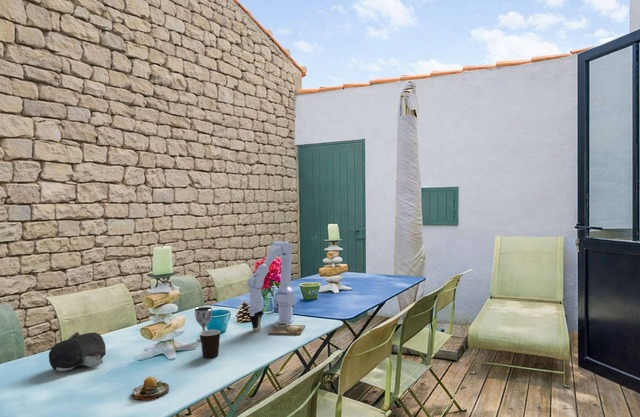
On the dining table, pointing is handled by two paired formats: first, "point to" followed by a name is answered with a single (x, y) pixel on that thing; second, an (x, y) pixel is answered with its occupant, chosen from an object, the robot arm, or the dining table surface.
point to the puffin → (77, 352)
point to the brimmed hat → (150, 389)
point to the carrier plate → (286, 329)
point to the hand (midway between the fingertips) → (256, 326)
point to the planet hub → (258, 326)
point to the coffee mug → (210, 343)
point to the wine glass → (203, 317)
